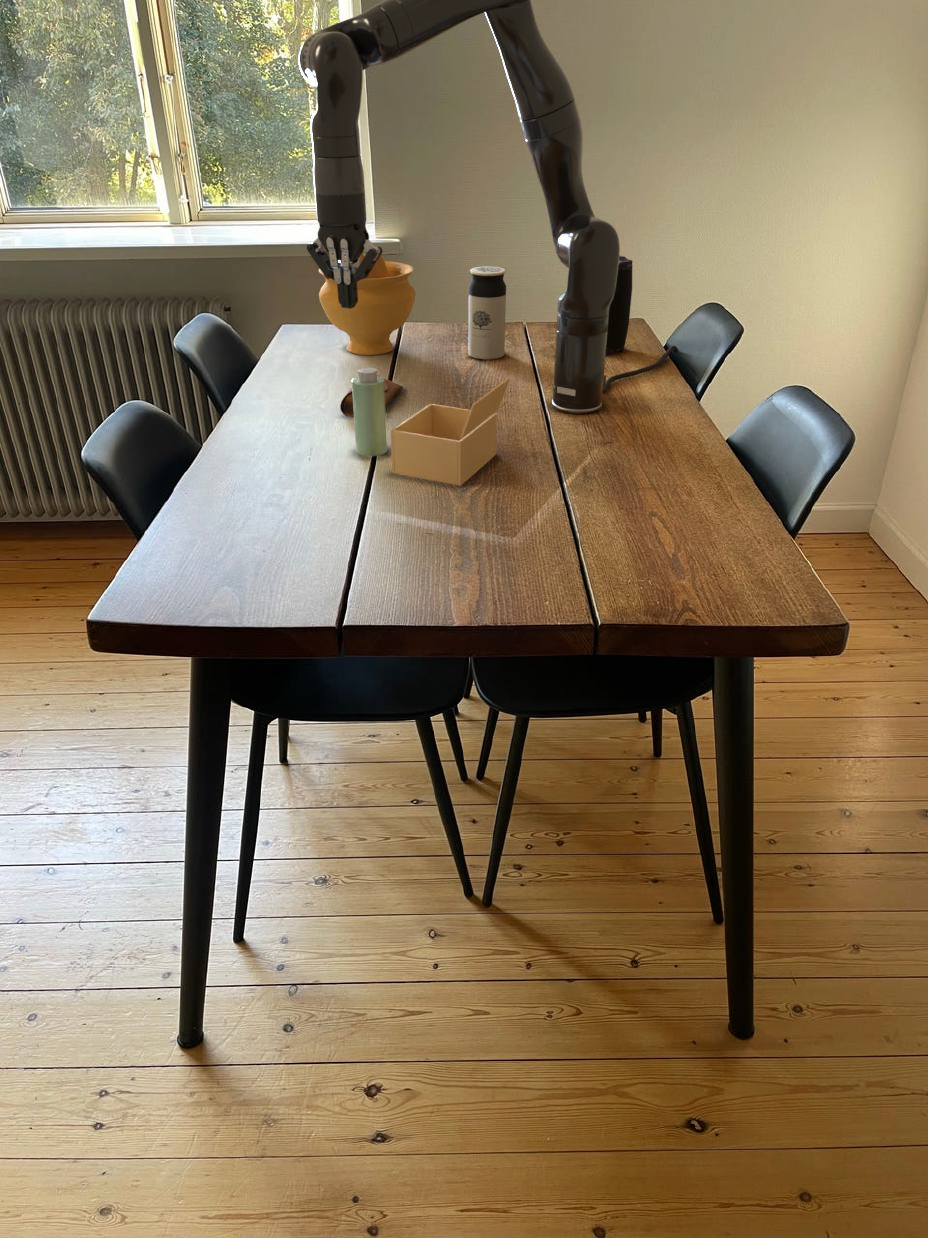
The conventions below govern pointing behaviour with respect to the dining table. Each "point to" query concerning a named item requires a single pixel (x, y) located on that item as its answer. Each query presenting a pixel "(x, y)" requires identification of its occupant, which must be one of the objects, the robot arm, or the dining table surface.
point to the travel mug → (487, 313)
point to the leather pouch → (390, 394)
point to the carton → (442, 445)
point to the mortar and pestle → (372, 307)
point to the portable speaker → (620, 308)
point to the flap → (484, 407)
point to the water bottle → (369, 413)
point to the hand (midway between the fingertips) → (348, 307)
